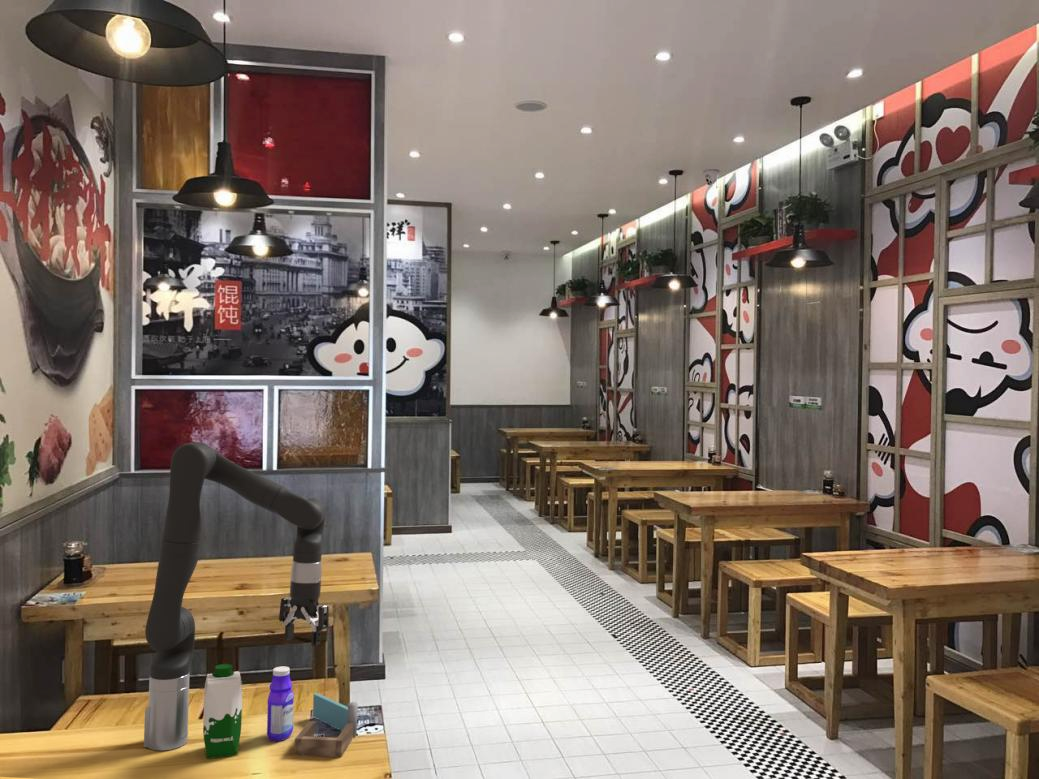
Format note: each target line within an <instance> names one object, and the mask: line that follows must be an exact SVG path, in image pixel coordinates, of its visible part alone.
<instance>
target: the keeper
mask: <svg viewBox="0 0 1039 779" xmlns="http://www.w3.org/2000/svg"><path fill="white" fill-rule="evenodd" d="M312 697H313V702H312V703H313V708H312V717H314V718H316V719H318V720H319V721H322V722H323V723H325V724H327V725H329V726H332V727H334V728H336V729H338V730H339V731H342V730H343V729H344V727H345V726H346V724H347V723H353V738H354V737H356V736H357V733H358V732H357V731H358V730H357V728H358V702H354V701H352V702H351V701H350V702H348V703H347V705H344V704H343V703H340V702H338V701H336V700H333V699H331V698H329V697H327V696H324V695H323V694H321V693H318V692H315V693H313V696H312Z"/></svg>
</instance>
